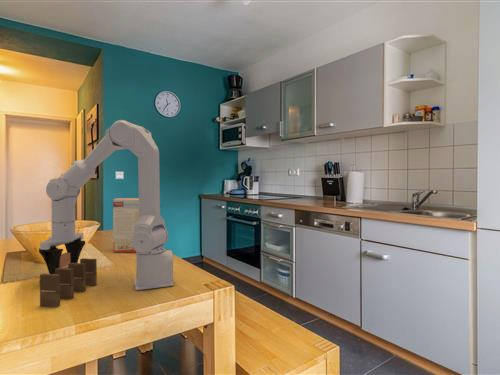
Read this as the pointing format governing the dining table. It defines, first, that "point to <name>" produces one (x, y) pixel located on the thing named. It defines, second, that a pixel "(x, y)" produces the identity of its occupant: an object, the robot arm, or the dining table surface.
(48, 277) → the domino
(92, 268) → the domino
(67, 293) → the domino
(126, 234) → the cracker box
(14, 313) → the dining table surface
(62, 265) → the domino
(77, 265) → the domino
